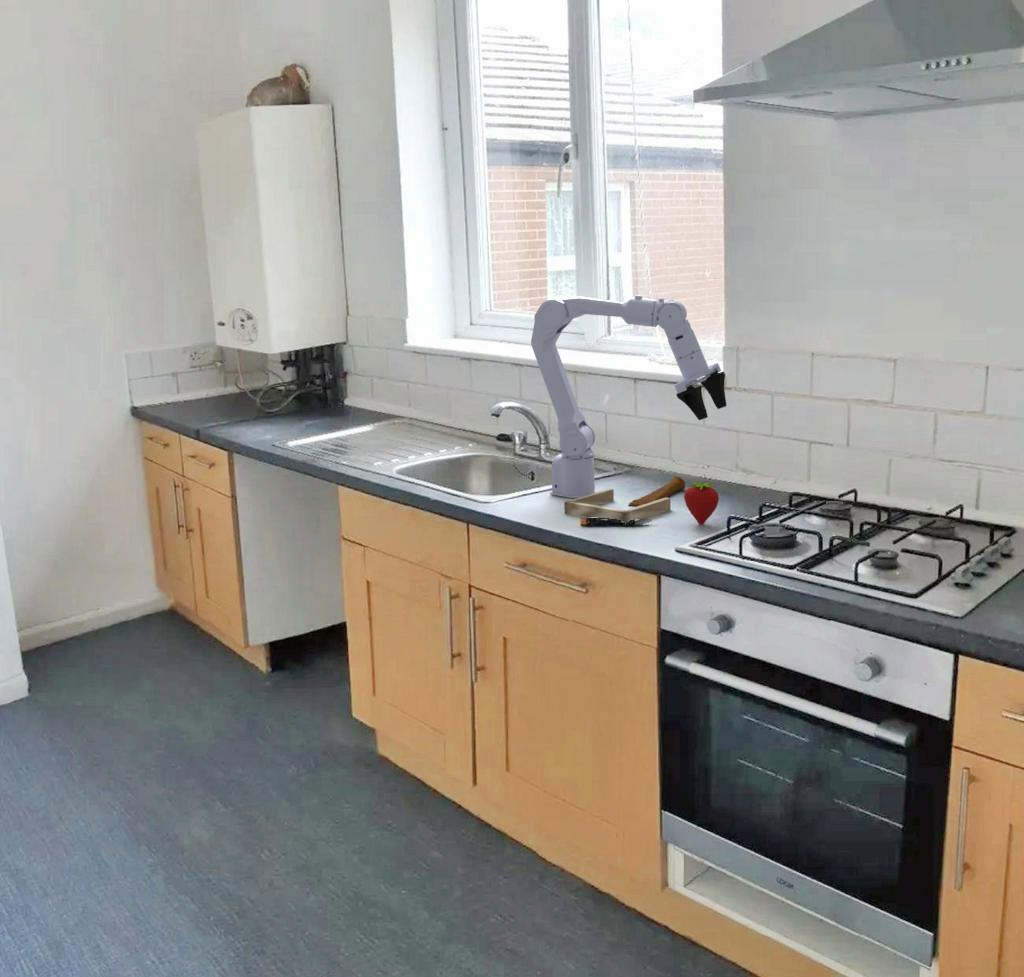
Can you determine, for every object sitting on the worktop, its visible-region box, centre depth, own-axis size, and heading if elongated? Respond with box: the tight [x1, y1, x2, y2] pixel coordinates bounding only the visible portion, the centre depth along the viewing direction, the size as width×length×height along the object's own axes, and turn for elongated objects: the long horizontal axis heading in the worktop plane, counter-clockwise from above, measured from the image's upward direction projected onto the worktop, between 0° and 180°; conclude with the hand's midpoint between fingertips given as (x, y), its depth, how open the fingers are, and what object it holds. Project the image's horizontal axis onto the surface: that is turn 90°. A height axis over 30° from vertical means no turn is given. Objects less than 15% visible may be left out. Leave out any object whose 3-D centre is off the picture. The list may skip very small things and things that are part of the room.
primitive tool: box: [627, 475, 686, 508], centre depth 240 cm, size 19×6×4 cm, turn 147°
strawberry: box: [683, 474, 720, 525], centre depth 216 cm, size 6×8×10 cm
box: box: [563, 488, 671, 525], centre depth 229 cm, size 16×15×2 cm
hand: (712, 413), depth 234 cm, fingers open, 7 cm apart
